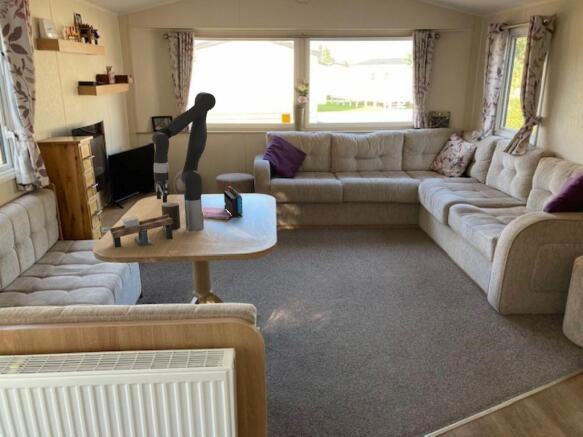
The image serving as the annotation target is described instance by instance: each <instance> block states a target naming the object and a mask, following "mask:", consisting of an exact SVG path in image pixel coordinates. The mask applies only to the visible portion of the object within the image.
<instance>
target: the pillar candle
mask: <svg viewBox="0 0 583 437" xmlns="http://www.w3.org/2000/svg"><path fill="white" fill-rule="evenodd" d="M167 214H168V215H169V217H170V218H172V220H173V224H170V225H171V226H172V231H175V230H179V229H180V228H181V216H180V215H181V214H180V203H179V202H167V203H162V204H161V216H163V215H167ZM162 229H163V230H164V227H163V226H162Z"/></svg>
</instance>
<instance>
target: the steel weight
mask: <svg viewBox="0 0 583 437" xmlns="http://www.w3.org/2000/svg"><path fill="white" fill-rule="evenodd" d="M139 221H140V220H139V217H138V216H137V215H134V216H130V217H126V218H125V217H124V218H122V225H124V229H129V228H133V227H137V226H140V225H139Z"/></svg>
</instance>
